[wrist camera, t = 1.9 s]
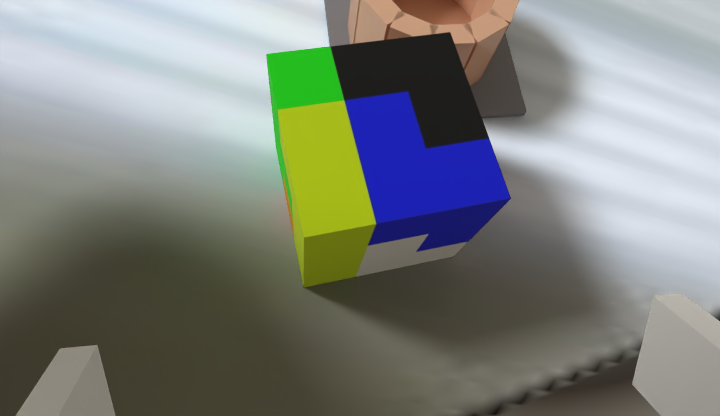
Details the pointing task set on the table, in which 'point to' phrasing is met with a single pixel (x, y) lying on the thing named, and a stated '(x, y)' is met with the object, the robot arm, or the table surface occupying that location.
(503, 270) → the table surface
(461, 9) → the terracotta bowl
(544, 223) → the table surface
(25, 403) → the robot arm
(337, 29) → the rubber mat
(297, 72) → the puzzle toy
